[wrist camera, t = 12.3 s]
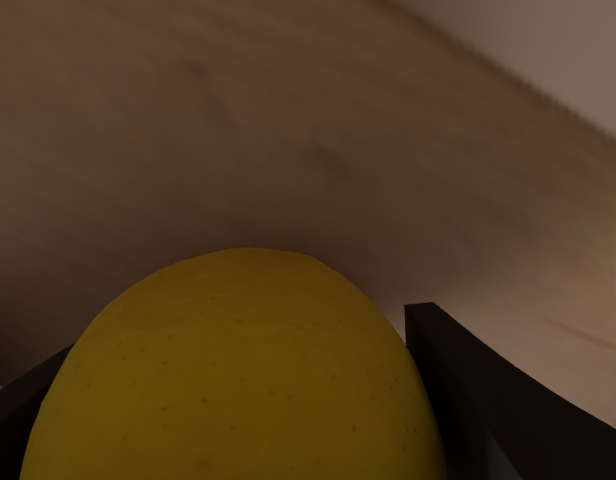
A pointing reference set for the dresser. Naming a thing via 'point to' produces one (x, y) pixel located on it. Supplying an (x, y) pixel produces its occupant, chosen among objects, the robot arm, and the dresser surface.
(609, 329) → the dresser surface
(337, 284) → the apple
